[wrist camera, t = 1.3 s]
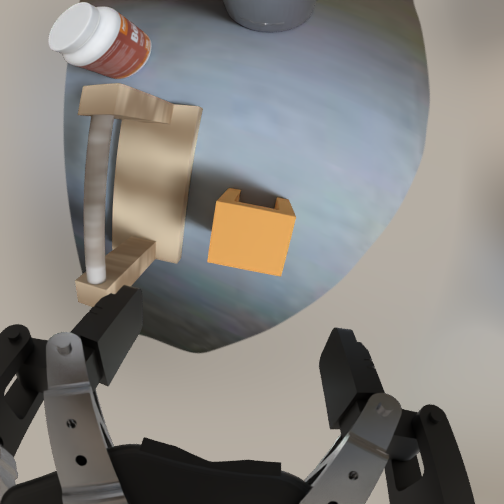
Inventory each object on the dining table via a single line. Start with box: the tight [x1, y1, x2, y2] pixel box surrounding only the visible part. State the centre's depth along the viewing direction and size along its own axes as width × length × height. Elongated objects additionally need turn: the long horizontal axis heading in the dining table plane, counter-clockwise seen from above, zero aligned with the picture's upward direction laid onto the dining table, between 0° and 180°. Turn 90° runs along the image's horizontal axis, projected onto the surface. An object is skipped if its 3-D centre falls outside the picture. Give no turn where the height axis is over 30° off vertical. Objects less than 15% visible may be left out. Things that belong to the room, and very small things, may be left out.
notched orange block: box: [207, 188, 296, 276], centre depth 24 cm, size 5×6×7 cm
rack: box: [75, 83, 203, 307], centre depth 21 cm, size 16×8×12 cm, turn 169°
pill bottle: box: [48, 2, 151, 79], centre depth 16 cm, size 6×6×11 cm
